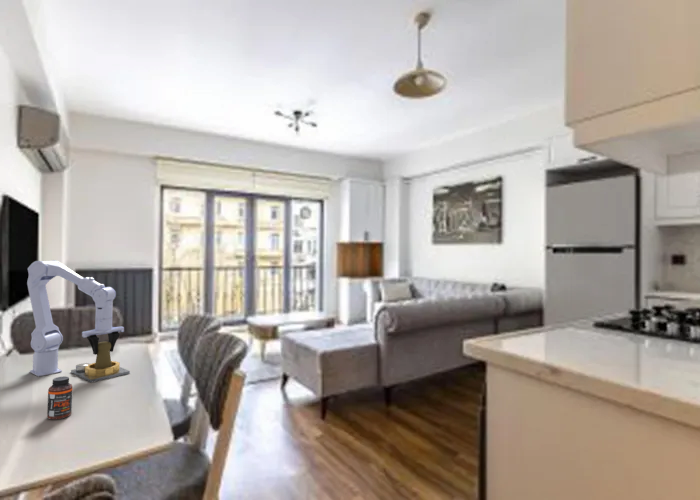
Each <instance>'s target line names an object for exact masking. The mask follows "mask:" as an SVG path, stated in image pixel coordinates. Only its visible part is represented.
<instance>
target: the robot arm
mask: <svg viewBox="0 0 700 500" xmlns="http://www.w3.org/2000/svg"><path fill="white" fill-rule="evenodd" d="M27 272H28V273H27V274H28V278H27V282H26V285H27V290H28V295H29V299H30V303H31V310H32V315H33V319H34V324H35V328H34V329H33V331H32V332H31V334H30V335H31V341H30V347H31V349H32V350H33V351H34V352H33V355H32V369H30V370H29V373H31V374H33V375H34V376H36V377H42V376H47V375H52V374H57V373H62V372H63V370H61V369H59V348H60V345H61V344H62V343H63V341H64V336H63V334H62V333H61V331H60V327H59V326H58V325H56V324H55V323H54V320H53V316H52V312H51V311H52V310H51V307H50V300H49V296H48V291H47V286H46V285H47V284H49V282H51V280H53V279H54V278H56V277H61V278H63V279H64V280H67V281H68V282H71V283H73V284H75V285H76V286H77V289H78V290H79V291H81V292H83V293H84V294H86V295H88V296H89V297H91V298H92V300H93V302H94V306H95V317H94V318H95V325H94V326H95V327H94V328H93V329H89V330H86V331H85V330H84V331H82V332H81V337H82V338H86V339H87V341H88V342H89V344H90V346H91V349H92V354H93V355H96V356H97V353H98V343H99V340H100V337H98V336H102V335H107V337H108V342H110V343H111V349H110V353H113V352H114V348H115V345H116V343H117V341H118V339H119V337H120V336H121V333H124V332H125V327H124V326H121V325H120V326H113V308H114V307H113V306H114V304H113V303H114V302H113V301H114V300H115V299H116V296H117V292H116V290H115V289H114V288H113V287H112V286H105V284H104V283H100V282H98V281H96V280H95V278H94V277H93V276H91V277H90V276H86V277H84V276H81V275H80V274H78V273H76V272H75V271H74V270H72V269H71V268H69V267H67V266H66V264H64V263H63V262H60V261H59V260H56V259H51V260H35V261H33V262H32V263H31V264H30V265H29V266H28V267H27Z"/></svg>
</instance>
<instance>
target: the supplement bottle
mask: <svg viewBox="0 0 700 500" xmlns="http://www.w3.org/2000/svg"><path fill="white" fill-rule="evenodd" d="M51 383H52V385H50V387H48V391H47V410H46V411H47V413H46V414H47V419H49V420H61V419H64V418H67V417H69V416H71V414H72V413H73V412H72V411H73V385H72V383H70V377H69V376H66V375H65V376H57V377H54V378H53V379H52V382H51Z"/></svg>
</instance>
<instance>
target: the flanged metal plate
mask: <svg viewBox="0 0 700 500" xmlns="http://www.w3.org/2000/svg"><path fill="white" fill-rule="evenodd" d="M95 363H96V362H92V363H89V362H88V363H87V362H86V363H85V362H84V363H79V364H76V365H75V368H74V369H71V370H70V373H71V374H73V375H75V376H77V377H79V378H81V379H82V380H85V381H87V382H89V383H93V382H98V381H103V380H107V379H111V378H116V377H120V376H125V375H129V374H131V373H130V370H129V369H126V368H124V367H121V364H120V362H119V361H116V360H115V361H114V360H111V365H112V367H108V368H101V369H95Z"/></svg>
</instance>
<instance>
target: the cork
mask: <svg viewBox="0 0 700 500" xmlns="http://www.w3.org/2000/svg"><path fill="white" fill-rule="evenodd" d="M110 349H111V343H110V342H109V341H100V342H99V341H98V353H97V354H96V358H95V362H94V363H95V369H101V368H108V367H112V365H111V361H112V360H111V359H112V358H111V357H112V356H111V352H110Z"/></svg>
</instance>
